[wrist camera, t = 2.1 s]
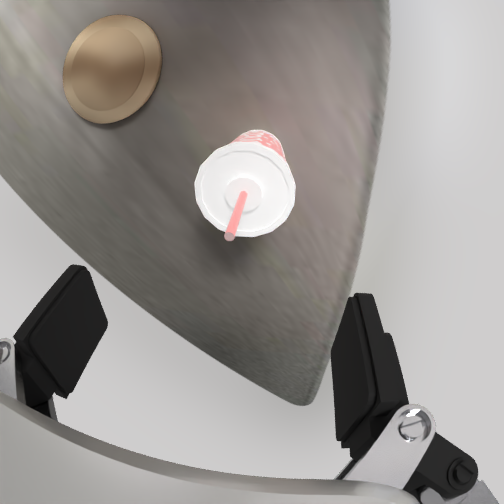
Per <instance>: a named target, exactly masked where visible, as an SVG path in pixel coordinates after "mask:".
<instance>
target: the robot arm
mask: <svg viewBox="0 0 504 504" xmlns="http://www.w3.org/2000/svg"><path fill="white" fill-rule="evenodd" d="M107 326H108V321H107V318H106V315H105V313H104V310H103V308H102V305H101V302H100V300H99V297H98V294H97V292H96V289H95V286H94V283H93V280H92V277H91V275H90V272H89V271H88V270H87V268H86V267H85V266H80V265H70V266H69V267H68V269H67V270H66V271H65V272H64V273H63V274H62V275H61V276H60V278H59V279H58V280H57V281H56V282H55V283H54V285H53V286H52V287H51V288H50V289H49V291H48V292H47V293H46V294H45V295H44V297H43V298H42V299H41V300H40V302H39V303H38V304H37V305H36V307H35V308H34V309H33V310H32V312H31V313H30V315H29V316H28V317H27V318H26V320H25V321H24V322H23V324H22V325H21V326H20V328H19V329H18V330H17V332H16V333H15V335H14V336H13V337H14V339H15V340H16V344H15V345H14V343H13V342H12V340H10V339H7V338H3V339H0V504H499V503H498V501H497V500H496V498H495V497H494V496H493V494H492V493H491V491H490V490H489V489H488V487H487V486H486V484H485V483H484V482H483V481H482V480H481V481H478V479H477V477H478V467H477V464H476V462H475V460H474V459H473V458H472V457H471V456H469V455H468V454H466V453H465V452H463V451H462V450H461V449H459V448H458V447H456V446H454V445H453V444H452V443H450V442H449V441H447V440H446V439H445V438H443V437H442V436H440V435H439V434H437V433H436V432H435V431H436V423H435V420H434V417H433V415H432V414H431V412H430V411H429V410H427V409H426V408H425V407H423V406H421V405H418V404H409V401H408V397H407V392H406V388H405V384H404V379H403V375H402V372H401V367H400V364H399V360H398V356H397V352H396V349H395V346H394V342H393V339H392V336H391V335H390V333H384V331H383V327H382V324H381V320H380V317H379V313H378V310H377V306H376V303H375V300H374V297H373V295H372V294H367V293H355V294H354V296H353V297H349V298H348V301H347V304H346V307H345V310H344V313H343V316H342V320H341V323H340V326H339V329H338V331H337V334H336V337H335V340H334V343H333V346H332V349H331V366H332V378H333V390H334V407H335V426H336V439H337V441H341V447H342V448H350V457H352V459H351V460H350V461H349V463H348V464H347V465H346V466H345V467H344V468H343V470H342V471H341V472H340V473H339V474H338V475H337V476H336V477H335V478H334V480H321V479H320V480H319V479H286V478H269V477H258V476H247V475H239V474H231V473H224V472H217V471H211V470H205V469H200V468H195V467H189V466H185V465H180V464H176V463H172V462H168V461H164V460H160V459H156V458H153V457H149V456H146V455H142V454H139V453H136V452H132V451H129V450H126V449H123V448H120V447H117V446H115V445H112V444H109V443H106V442H103V441H101V440H98V439H96V438H93V437H91V436H88V435H86V434H84V433H81V432H79V431H76V430H74V429H72V428H70V427H68V426H65V425H63V424H61V423H59V422H58V420H57V416H56V411H55V407H54V402H53V397H52V395H53V393H54V392H55V393H56V395H58V396H61V397H63V398H65V399H67V397H68V395H69V393H72V392H73V390H74V388H75V386H76V384H77V382H78V380H79V378H80V376H81V375H82V373H83V371H84V369H85V367H86V365H87V363H88V361H89V359H90V358H91V356H92V354H93V352H94V350H95V349H96V347H97V345H98V343H99V341H100V340H101V338H102V336H103V334H104V332H105V331H106V329H107Z"/></svg>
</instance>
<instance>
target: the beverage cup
mask: <svg viewBox="0 0 504 504" xmlns="http://www.w3.org/2000/svg"><path fill="white" fill-rule="evenodd" d="M194 184H195V195H196V202H197V204H198V206H199V208H200V209H201V211H202V213H203V215H204V217H205V218H206V219H207V220H208V221H210V222H211V223H212V224H213V225H214V226H215V227H216V228H218V229H219V230H222V231H224V232H225V235H224V238H225V239H226V240H227V241H233V240H234V238H235V236H243V237H256V236H259V235H263V234H266V233H269V232H272V231H273V230H274V229H276V228H277V227H278V226H280V225H281V224H282V223H283V222H285V221H286V219H287V217H288V216H289V214H290V212H291V210H292V208H293V206H294V202H295V181H294V178H293V176H292V173H291V171H290V168H289V165H288V164H287V162H286V159H285V155H284V151H283V148H282V146H281V143H280V141H279V140H278V139H277V138H276V137H275V136H274V135H273V134H271V133H269V132H266V131H264V130H250V131H248V132H245V133H243V134H241V135H240V136H239V137H237V138H236V139H235V140H234V141H232V142H231V143H230V144H228V145H225V146H223V147H221V148H218V149H216V150H215V151H214V152H213V153H212V154H211V155H210V156H209V157H208V158H207V159H206V160H205V161H204V162H203V164H202V165H201V166H200V168H199V171H198V174H197V177H196V180H195V183H194Z"/></svg>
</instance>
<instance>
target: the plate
mask: <svg viewBox="0 0 504 504" xmlns="http://www.w3.org/2000/svg"><path fill="white" fill-rule="evenodd" d="M161 67H162V52H161V47H160V43H159V40H158V38H157V36H156V34H155V32H154V31H153V30H152V29H151V27H150V26H148V25H147V24H146V23H145V22H143V21H142V20H140V19H137V18H135V17H131V16H127V15H111V16H107V17H104V18H101V19H99V20H97V21H95V22H93V23H92V24H90V25H89V26H88V27H86V28H85V29H84V30H83V31H82V32H81V33H80V34H79V35H78V36H77V38H76V39H75V41H74V42H73V44H72V45H71V47H70V49H69V51H68V53H67V56H66V59H65V63H64V68H63V87H64V91H65V95H66V98H67V100H68V102H69V104H70V105H71V107H72V108H73V109H74V111H75V112H76V113H77V114H78V115H80V116H81V117H82V118H84V119H86V120H88V121H90V122H94V123H101V124H105V123H112V122H116V121H119V120H122V119H124V118H126V117H128V116H130V115H132V114H133V113H135V112H136V111H137V110H139V109H140V108H141V107H142V106H143V105H144V104H145V103H146V102H147V100H148V99H149V97H150V96H151V95H152V93H153V91H154V89H155V87H156V85H157V83H158V80H159V76H160V73H161Z"/></svg>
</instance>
